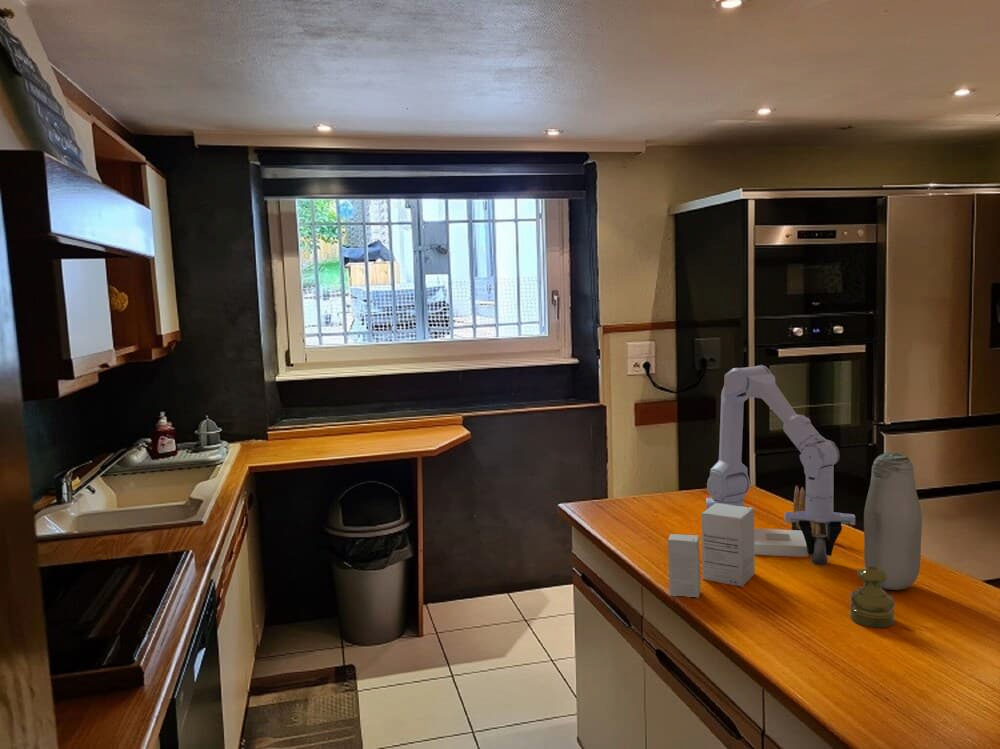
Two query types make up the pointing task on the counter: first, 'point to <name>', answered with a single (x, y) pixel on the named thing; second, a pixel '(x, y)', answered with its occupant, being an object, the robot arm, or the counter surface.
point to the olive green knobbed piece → (872, 600)
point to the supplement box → (728, 544)
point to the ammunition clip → (800, 505)
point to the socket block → (780, 542)
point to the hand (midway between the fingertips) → (819, 553)
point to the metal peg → (819, 549)
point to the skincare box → (684, 565)
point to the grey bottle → (893, 521)
